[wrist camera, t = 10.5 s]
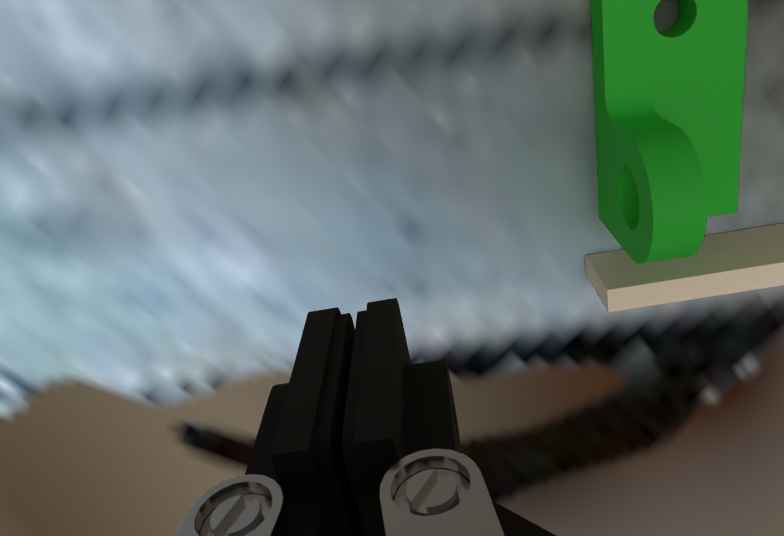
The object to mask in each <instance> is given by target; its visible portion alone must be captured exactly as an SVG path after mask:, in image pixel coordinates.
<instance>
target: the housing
mask: <svg viewBox="0 0 784 536" xmlns="http://www.w3.org/2000/svg"><path fill="white" fill-rule="evenodd" d="M585 261H586V275H587V277H588V279H589V281H590V282H591V284H592V286H593V287H594V289H595V291H596V292H597V294H598V296H599V297H600V299H601V301H602V303H603V304H604V306H605V308H606V309H607V311H608V312H614V311H621V310H627V309H634V308H640V307H647V306H653V305H659V304H666V303H672V302H679V301H685V300H692V299H698V298H704V297H711V296H717V295H724V294H730V293H737V292H743V291H750V290H756V289H762V288H769V287H775V286H782V285H784V223H781V224H775V225H769V226H763V227H756V228H750V229H744V230H738V231H732V232H726V233H720V234H714V235H707V236H704V238H703V241H702V244H701V246H700V248H699V250H698V251H697V252H696V254H694V255H693V256H690V257H683V258H677V259H670V260H663V261H656V262H649V263H643V264H638V263H636V262H634V261H633V260H632V259H631V257H630V256H629V255H628V254H627V252H626V251H625V250H624V249H622V250H616V251H609V252H603V253H597V254H591V255H585Z"/></svg>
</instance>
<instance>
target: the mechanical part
mask: <svg viewBox="0 0 784 536" xmlns="http://www.w3.org/2000/svg"><path fill="white" fill-rule="evenodd" d="M660 1H661V0H591V22H592V47H593V73H594V98H595V124H596V149H597V175H598V200H599V218H600V220H601V221H602V222H603V223H604V225H605V226H606V227H607V229H608V230H609V231H610V232H611V234H612V235H613V236H614V237H615V239H616V240H617V241H618V242H619V244H620V245H621V246H622V247H623V249H624V250H625V251H626V252H627V254H628V255H629V256H630V257H631V259H632V260H633V261H634V262H636V263H638V264H643V263H649V262H656V261H663V260H670V259H677V258H683V257H690V256H693V255H694V254H696V252H697V251H698V250H699V248H700V246H701V244H702V241H703V238H704V234H705V229H706V220H707V216H714V215H720V214H727V213H734V212H737V204H738V185H739V167H740V148H741V130H742V111H743V93H744V74H745V56H746V37H747V19H748V1H747V0H679V3H680V14H679V17H678V19H677V21H676V23H675V24H674V25H673V26H672V27H671V28H670V29H669V30H667V31H665V32H663V33H659V32H658V31H657V30H656V28H655V26H654V22H653V16H654V11H655V9H656V7H657V5H658V3H659V2H660Z"/></svg>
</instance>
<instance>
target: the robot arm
mask: <svg viewBox="0 0 784 536" xmlns="http://www.w3.org/2000/svg"><path fill="white" fill-rule="evenodd" d="M174 536H556V535H554V534H552V533H550V532H548V531H546V530H545V529H543V528H541V527H539V526H537V525H536V524H534V523H532V522H530V521H528V520H526V519H525V518H523V517H521V516H519V515H517V514H516V513H513V512H512V511H510V510H508V509H506V508H505V507H503V506H501V505H499V504H497V503H496V502H494V501H492V500H491V498H490V496H489V493H488V490H487V488H486V485H485V482H484V480H483V477H482V474H481V472H480V470H479V469H478V467H477V466H476V464H475V462H474V461H472V460H471V459H470V458H468V457H467V456H466V455H464V454H462V453H461V445H460V437H459V430H458V423H457V416H456V410H455V404H454V398H453V393H452V387H451V381H450V376H449V371H448V365H447V361H446V359H444V360H437V361H430V362H424V363H417V364H411V361H410V356H409V351H408V347H407V342H406V337H405V332H404V327H403V323H402V318H401V313H400V308H399V304H398V301H397V298H393V299H387V300H381V301H375V302H369V303H368V304H367V310H366V311H360V312H358V313H357V320H356V328H354V324H353V320H352V317H351V314H350V313H347V314H341V313H340V310H339V309H338V307H337V308H331V309H325V310H319V311H313V312H309V313H308V315H307V319H306V322H305V326H304V330H303V334H302V337H301V341H300V345H299V348H298V352H297V356H296V360H295V363H294V367H293V371H292V375H291V378H290V382H289V383H286V384H278V385H275V386H273V387H272V390H271V392H270V395H269V398H268V402H267V405H266V408H265V411H264V414H263V418H262V421H261V424H260V428H259V431H258V434H257V437H256V441H255V444H254V447H253V450H252V454H251V457H250V460H249V463H248V467H247V470H246V473H245V475H241V476H236V477H233V478H230V479H228V480H225V481H222V482H220V483H219V484H217V485H216V486H214V487H212V488H210V489H209V490H207V491H206V492H205V493H204V494H203V495H202V496H200V497H199V498H198V499H197V500H196V501H195V503H194V504H193V505H192V507H191V508H190V509H189V511H188V513H187V514H186V516H185V518H184V519H183V521H182V523H181V525H180V527H179V528H178V530H177V532H176V534H175V535H174Z"/></svg>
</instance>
